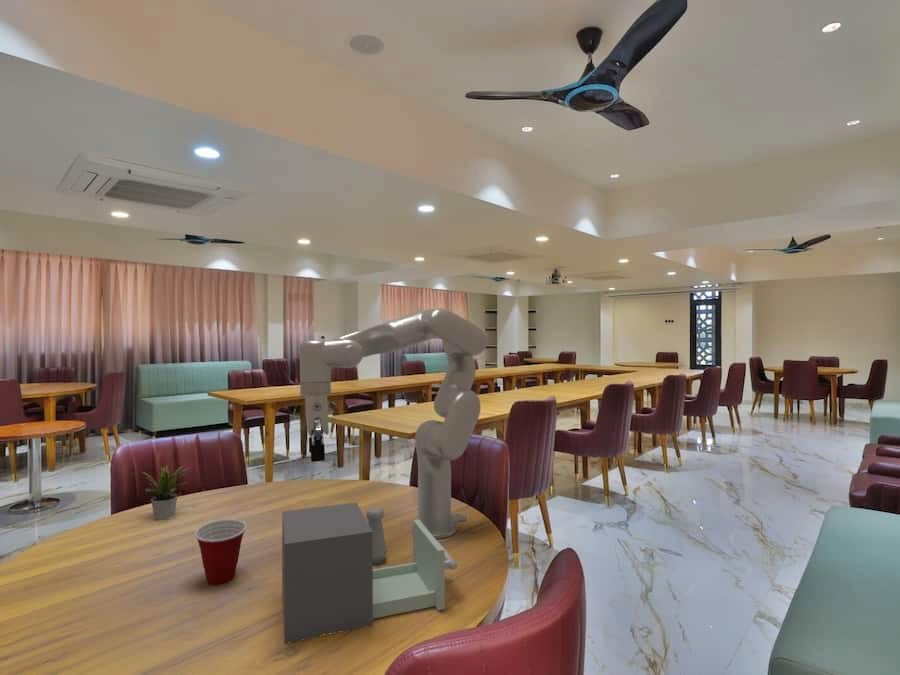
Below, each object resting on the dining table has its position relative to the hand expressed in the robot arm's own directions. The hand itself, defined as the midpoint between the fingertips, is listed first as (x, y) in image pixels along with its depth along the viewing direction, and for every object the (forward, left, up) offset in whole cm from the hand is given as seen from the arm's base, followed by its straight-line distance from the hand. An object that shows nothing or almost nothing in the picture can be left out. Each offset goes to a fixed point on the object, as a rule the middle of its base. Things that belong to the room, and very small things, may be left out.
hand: (316, 456), depth 123 cm
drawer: (-16, +25, -25) cm, 39 cm away
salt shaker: (-13, +7, -26) cm, 30 cm away
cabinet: (+1, +25, -26) cm, 36 cm away
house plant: (+41, -45, -26) cm, 66 cm away
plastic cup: (+22, +4, -26) cm, 34 cm away
